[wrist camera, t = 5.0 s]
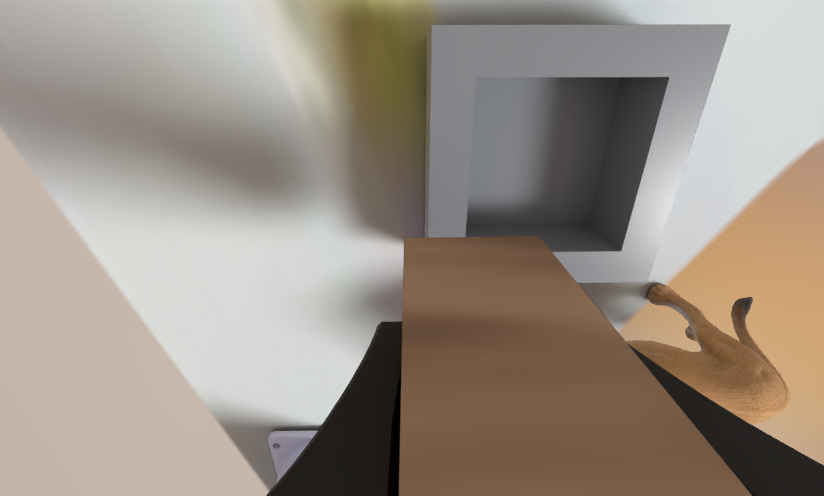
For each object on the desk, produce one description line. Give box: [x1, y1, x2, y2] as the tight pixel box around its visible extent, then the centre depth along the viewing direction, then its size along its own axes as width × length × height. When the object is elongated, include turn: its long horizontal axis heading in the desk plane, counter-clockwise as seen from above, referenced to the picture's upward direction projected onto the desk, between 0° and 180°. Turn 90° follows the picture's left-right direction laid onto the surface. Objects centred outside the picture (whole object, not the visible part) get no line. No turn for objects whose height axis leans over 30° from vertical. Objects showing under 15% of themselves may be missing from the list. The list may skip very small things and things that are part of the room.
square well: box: [424, 25, 731, 283], centre depth 15 cm, size 10×10×4 cm
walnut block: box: [399, 236, 752, 496], centre depth 8 cm, size 4×4×8 cm
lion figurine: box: [625, 284, 790, 424], centre depth 17 cm, size 15×5×9 cm, turn 106°
